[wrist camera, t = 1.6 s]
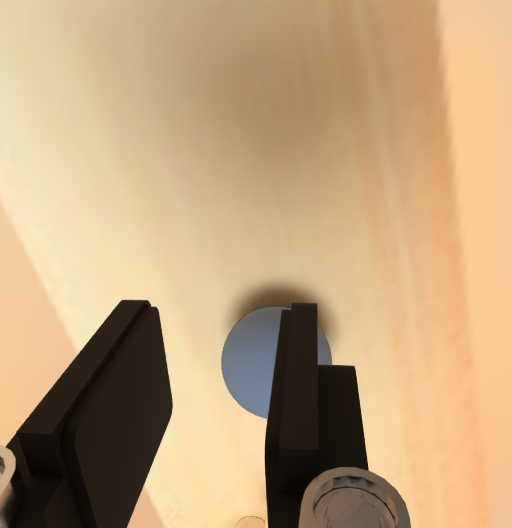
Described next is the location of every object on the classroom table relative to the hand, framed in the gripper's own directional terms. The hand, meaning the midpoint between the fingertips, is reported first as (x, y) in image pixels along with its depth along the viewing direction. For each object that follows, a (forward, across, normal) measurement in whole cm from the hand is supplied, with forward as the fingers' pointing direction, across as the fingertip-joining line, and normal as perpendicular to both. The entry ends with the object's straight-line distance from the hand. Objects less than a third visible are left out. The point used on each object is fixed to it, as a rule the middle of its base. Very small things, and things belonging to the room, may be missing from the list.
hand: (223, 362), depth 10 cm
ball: (+12, 0, +9) cm, 15 cm away
